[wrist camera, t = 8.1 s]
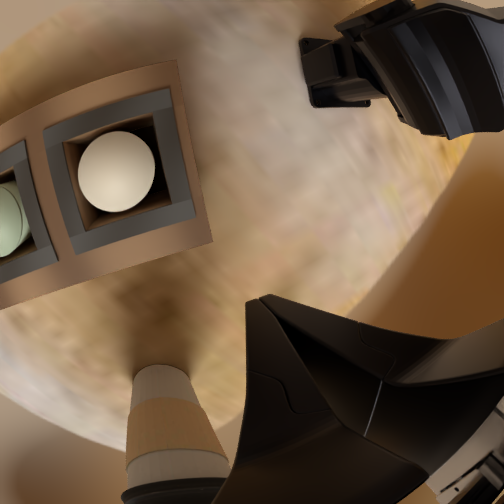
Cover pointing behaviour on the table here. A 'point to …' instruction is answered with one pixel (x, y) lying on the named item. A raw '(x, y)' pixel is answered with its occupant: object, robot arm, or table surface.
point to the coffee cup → (170, 442)
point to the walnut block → (70, 194)
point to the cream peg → (116, 171)
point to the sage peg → (12, 219)
